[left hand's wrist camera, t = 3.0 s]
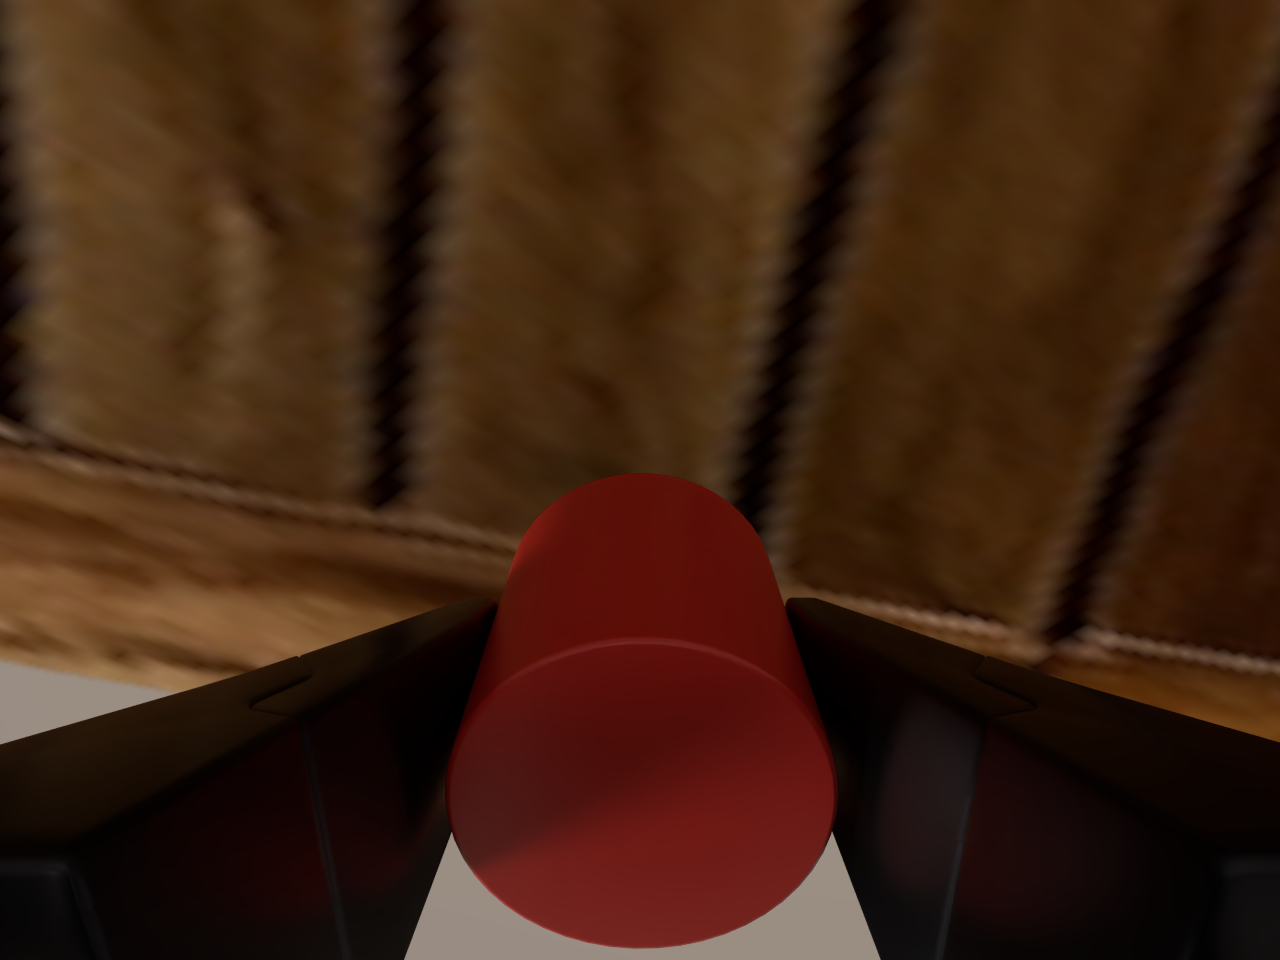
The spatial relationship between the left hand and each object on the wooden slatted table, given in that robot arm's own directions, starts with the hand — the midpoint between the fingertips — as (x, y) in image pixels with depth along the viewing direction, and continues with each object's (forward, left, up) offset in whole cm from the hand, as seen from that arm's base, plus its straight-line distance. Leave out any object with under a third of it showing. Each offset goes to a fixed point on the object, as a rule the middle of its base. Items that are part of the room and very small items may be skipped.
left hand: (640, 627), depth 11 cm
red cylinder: (0, 0, -1) cm, 1 cm away
